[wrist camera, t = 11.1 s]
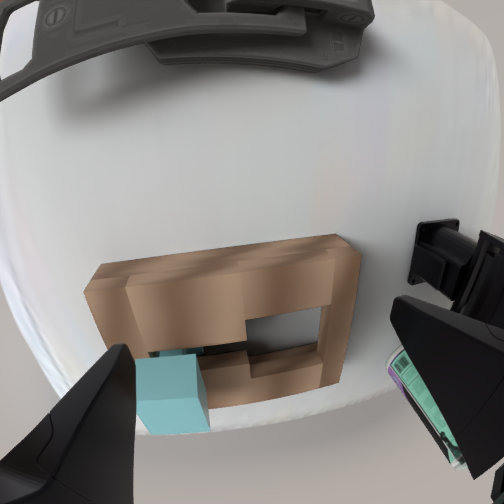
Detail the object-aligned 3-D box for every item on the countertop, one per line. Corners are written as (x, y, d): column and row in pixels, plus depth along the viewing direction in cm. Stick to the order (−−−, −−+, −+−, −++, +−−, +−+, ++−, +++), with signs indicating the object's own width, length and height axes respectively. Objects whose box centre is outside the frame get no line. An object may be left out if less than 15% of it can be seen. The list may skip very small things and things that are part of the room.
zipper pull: (-20, 7, 3) (383, -49, 7) (24, 28, 9) (339, -15, 13) (-36, 130, 7) (412, 63, 10) (20, 125, 13) (354, 77, 16)
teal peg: (194, 305, 21) (197, 396, 13) (202, 342, 23) (210, 431, 15) (145, 310, 21) (128, 400, 13) (158, 347, 22) (151, 434, 14)
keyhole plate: (335, 233, 21) (361, 254, 17) (323, 354, 26) (338, 382, 23) (100, 264, 18) (83, 291, 15) (146, 381, 24) (142, 413, 20)
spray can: (380, 376, 31) (454, 491, 13) (392, 346, 28) (483, 471, 10) (411, 364, 31) (486, 465, 13) (423, 335, 29) (513, 441, 11)
